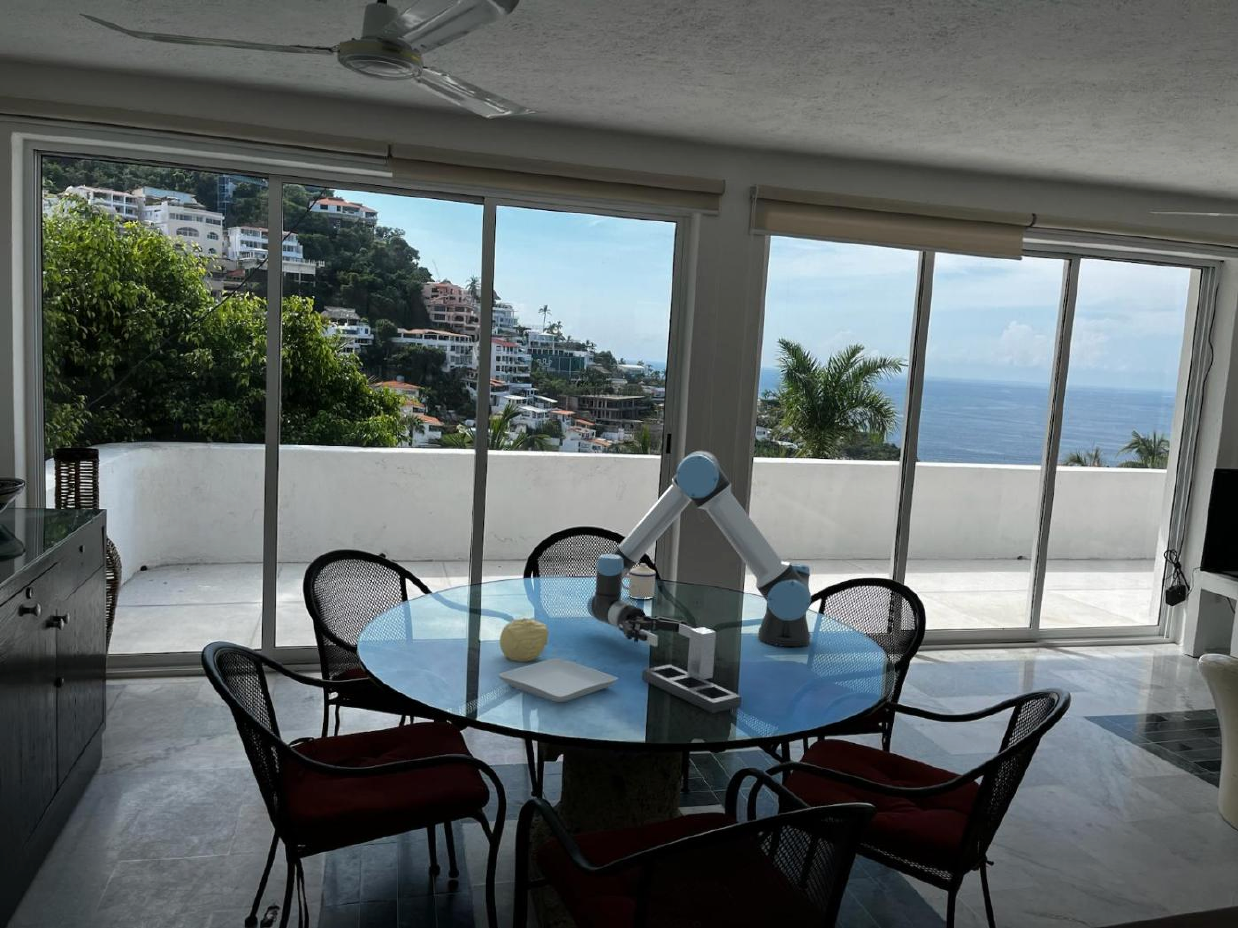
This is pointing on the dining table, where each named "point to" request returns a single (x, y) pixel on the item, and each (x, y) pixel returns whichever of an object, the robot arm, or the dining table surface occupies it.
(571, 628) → the dining table surface
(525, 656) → the yellow round lump
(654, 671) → the rack rail
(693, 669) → the grey upright post
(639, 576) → the teacup with lid
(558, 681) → the salad plate
